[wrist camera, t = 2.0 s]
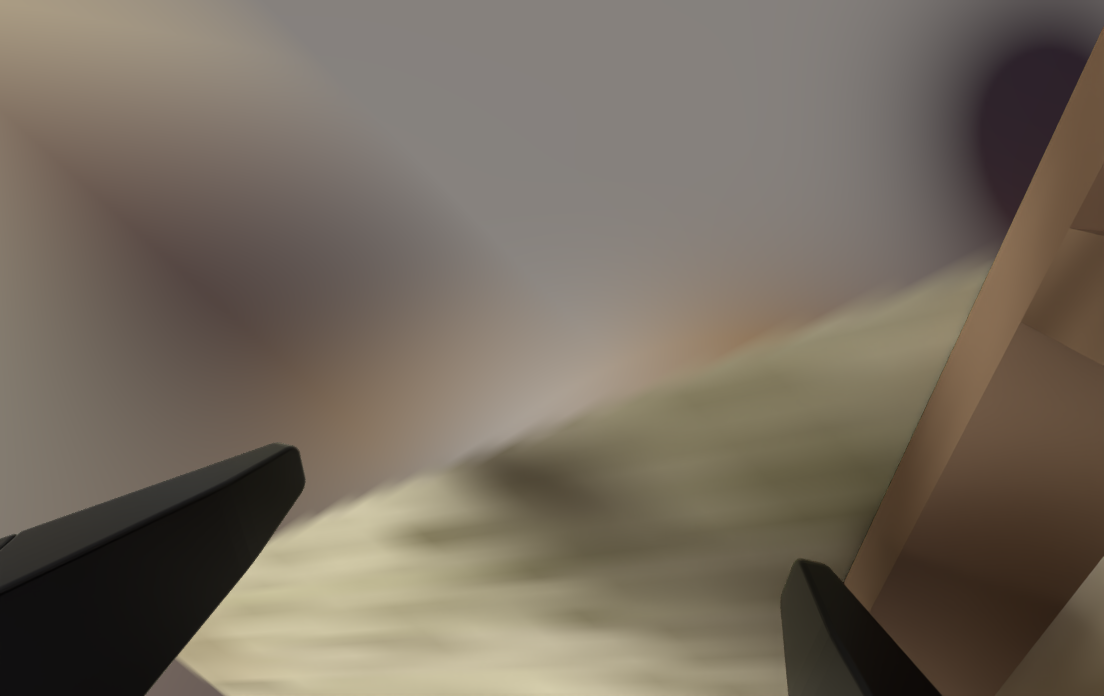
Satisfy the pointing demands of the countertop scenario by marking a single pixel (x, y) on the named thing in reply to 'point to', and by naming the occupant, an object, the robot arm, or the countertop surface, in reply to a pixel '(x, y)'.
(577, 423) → the countertop surface
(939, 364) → the countertop surface
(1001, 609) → the trap lane
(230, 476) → the robot arm
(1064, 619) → the maple block
